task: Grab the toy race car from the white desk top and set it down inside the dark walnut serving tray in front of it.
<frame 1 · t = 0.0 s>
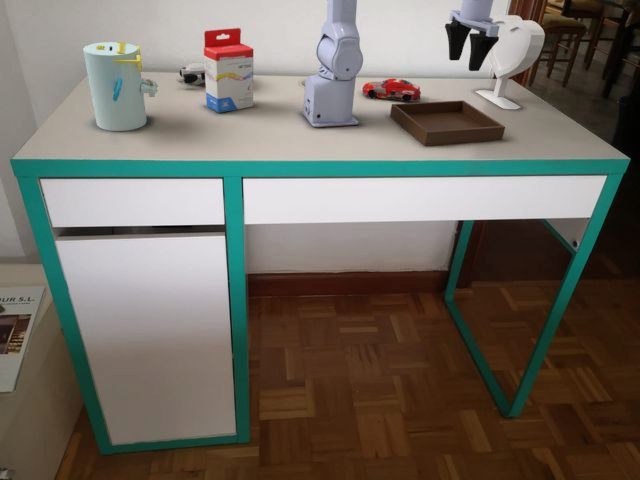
hand: (463, 65, 107), 10 cm above the table, tool pointing down, fingers open, 7 cm apart
character sculpture: (129, 122, 96), on the table
race car: (390, 98, 118), on the table
tray: (444, 127, 104), on the table
heart sculpture: (497, 100, 123), on the table
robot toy: (213, 84, 118), on the table
ink box: (230, 107, 106), on the table
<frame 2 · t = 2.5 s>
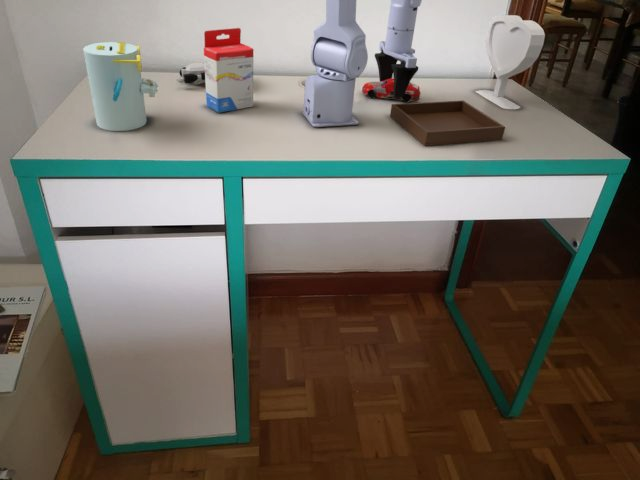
hand: (391, 91, 117), 1 cm above the table, tool pointing down, fingers closed on race car, 7 cm apart
race car: (390, 98, 118), on the table, touching gripper
everything else where it was.
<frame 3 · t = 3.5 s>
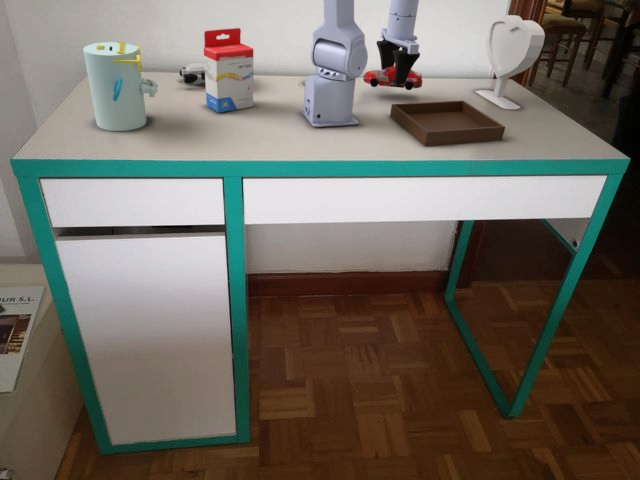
hand: (393, 79, 116), 4 cm above the table, tool pointing down, fingers closed on race car, 6 cm apart
race car: (391, 86, 117), point 3 cm above the table, touching gripper
everything else where it was.
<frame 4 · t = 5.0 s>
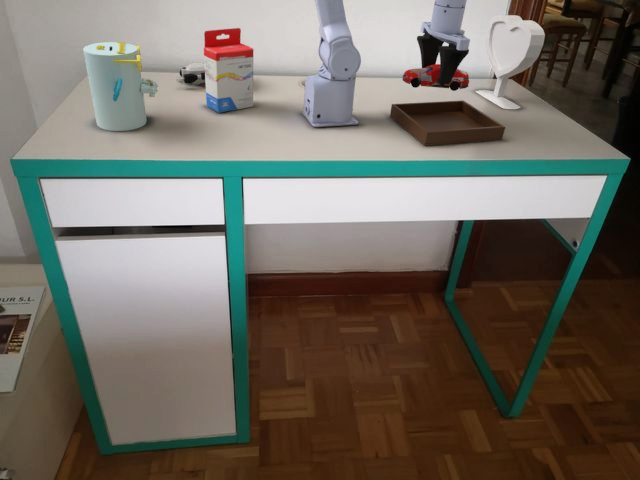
hand: (435, 78, 104), 8 cm above the table, tool pointing down, fingers closed on race car, 6 cm apart
race car: (434, 86, 105), point 7 cm above the table, touching gripper
everything else where it was.
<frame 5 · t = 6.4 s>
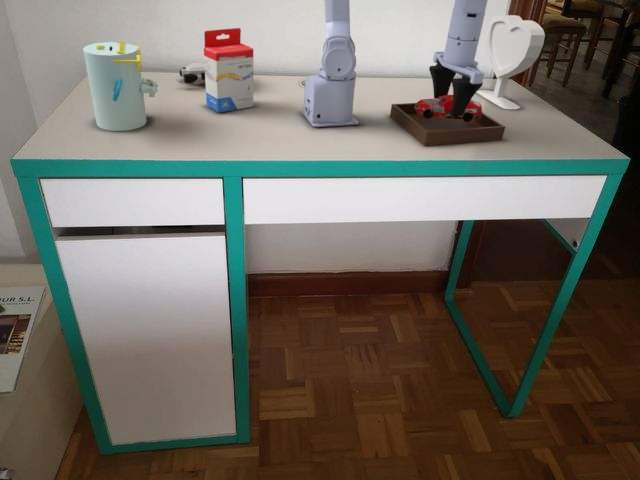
hand: (448, 109, 102), 4 cm above the table, tool pointing down, fingers closed on race car, 6 cm apart
race car: (446, 117, 103), point 2 cm above the table, touching gripper
everything else where it was.
when the fingers open (2 cm above the table, at t = 7.6 s): race car stays where it is, resting on tray.
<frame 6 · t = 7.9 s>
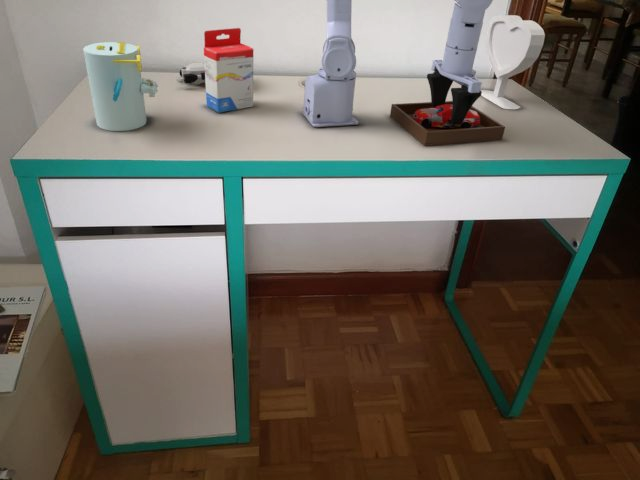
hand: (446, 116, 103), 2 cm above the table, tool pointing down, fingers open, 7 cm apart
race car: (444, 126, 104), resting on tray
everything else where it was.
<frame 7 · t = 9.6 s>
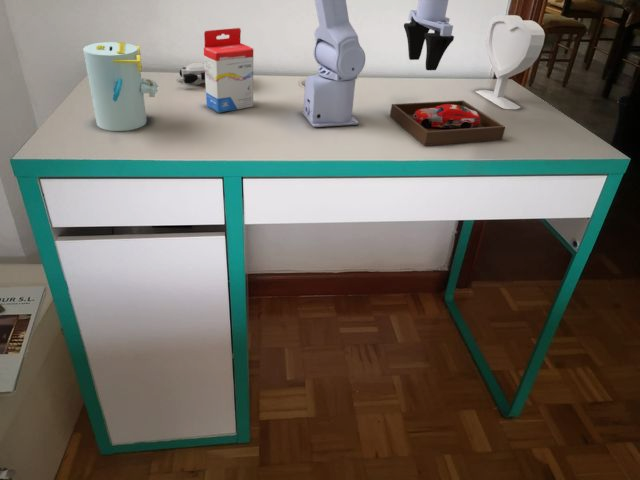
hand: (422, 64, 108), 9 cm above the table, tool pointing down, fingers open, 7 cm apart
nothing on the table moved.
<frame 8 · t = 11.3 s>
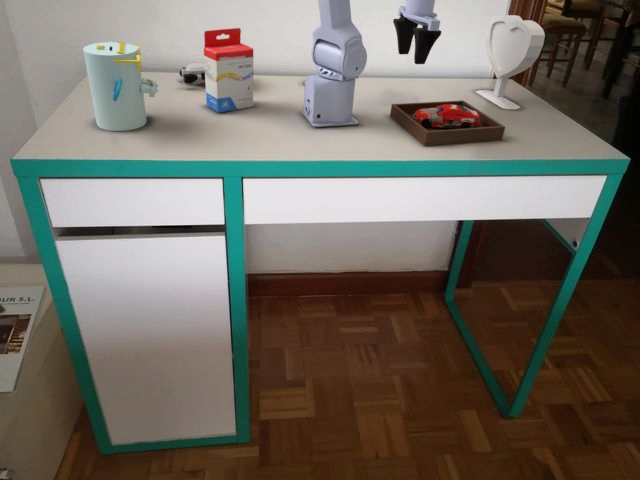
hand: (411, 58, 111), 9 cm above the table, tool pointing down, fingers open, 7 cm apart
nothing on the table moved.
at the end: race car inside the target area in the tray (0.0 cm from its centre), point 0.3 cm above the tray's base; the gripper is holding nothing; race car tilted 0° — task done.
